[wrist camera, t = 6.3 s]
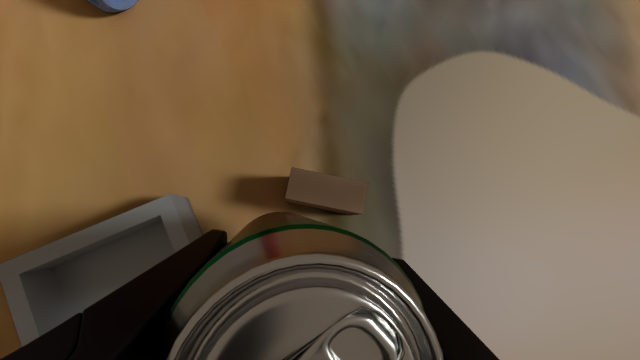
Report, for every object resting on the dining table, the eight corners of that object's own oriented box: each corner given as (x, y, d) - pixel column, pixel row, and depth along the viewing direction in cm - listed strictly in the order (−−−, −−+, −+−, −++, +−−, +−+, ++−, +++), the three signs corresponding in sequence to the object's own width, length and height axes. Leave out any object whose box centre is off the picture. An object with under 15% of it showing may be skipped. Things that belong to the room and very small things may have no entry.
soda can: (211, 256, 15) (16, 432, 3) (283, 192, 16) (324, 159, 4) (275, 325, 15) (299, 705, 4) (342, 258, 16) (530, 392, 5)
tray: (241, 332, 20) (232, 352, 17) (91, 407, 19) (53, 442, 16) (187, 197, 21) (170, 193, 18) (40, 259, 20) (-5, 265, 17)
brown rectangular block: (350, 215, 22) (363, 214, 18) (286, 202, 22) (284, 198, 18) (355, 189, 22) (368, 183, 18) (292, 176, 22) (291, 166, 18)
